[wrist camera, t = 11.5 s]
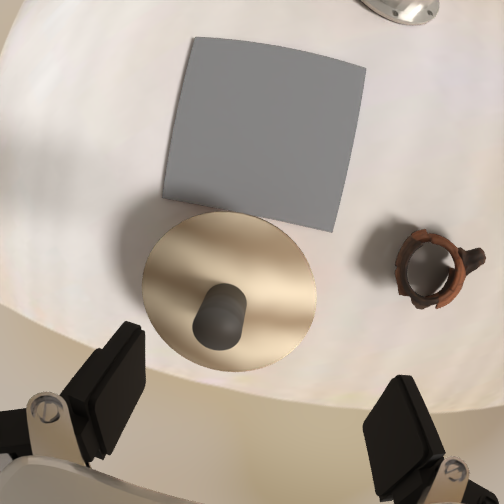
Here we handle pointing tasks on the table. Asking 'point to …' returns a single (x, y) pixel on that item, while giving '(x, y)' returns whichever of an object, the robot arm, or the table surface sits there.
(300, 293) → the lid
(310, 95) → the mat
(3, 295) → the table surface
